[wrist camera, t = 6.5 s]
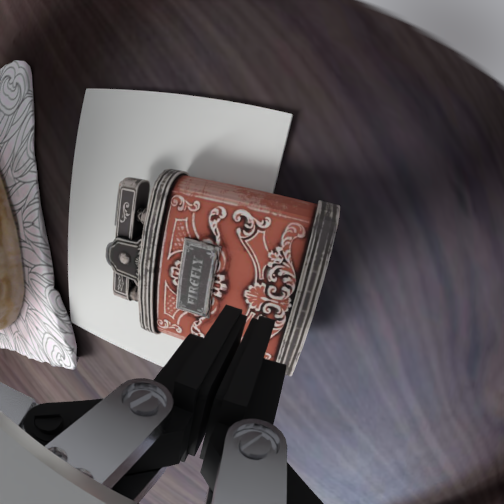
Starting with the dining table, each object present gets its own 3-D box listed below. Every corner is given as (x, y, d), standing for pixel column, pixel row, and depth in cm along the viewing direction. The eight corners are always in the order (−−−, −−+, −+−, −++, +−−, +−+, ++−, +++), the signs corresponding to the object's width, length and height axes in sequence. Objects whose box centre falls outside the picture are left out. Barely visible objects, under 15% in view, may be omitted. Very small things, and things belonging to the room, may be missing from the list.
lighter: (287, 391, 13) (94, 323, 14) (294, 352, 16) (128, 300, 17) (342, 210, 10) (101, 161, 12) (337, 201, 14) (141, 161, 15)
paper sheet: (293, 115, 13) (292, 114, 13) (223, 385, 19) (221, 389, 18) (90, 89, 15) (86, 88, 14) (74, 319, 20) (70, 321, 20)
